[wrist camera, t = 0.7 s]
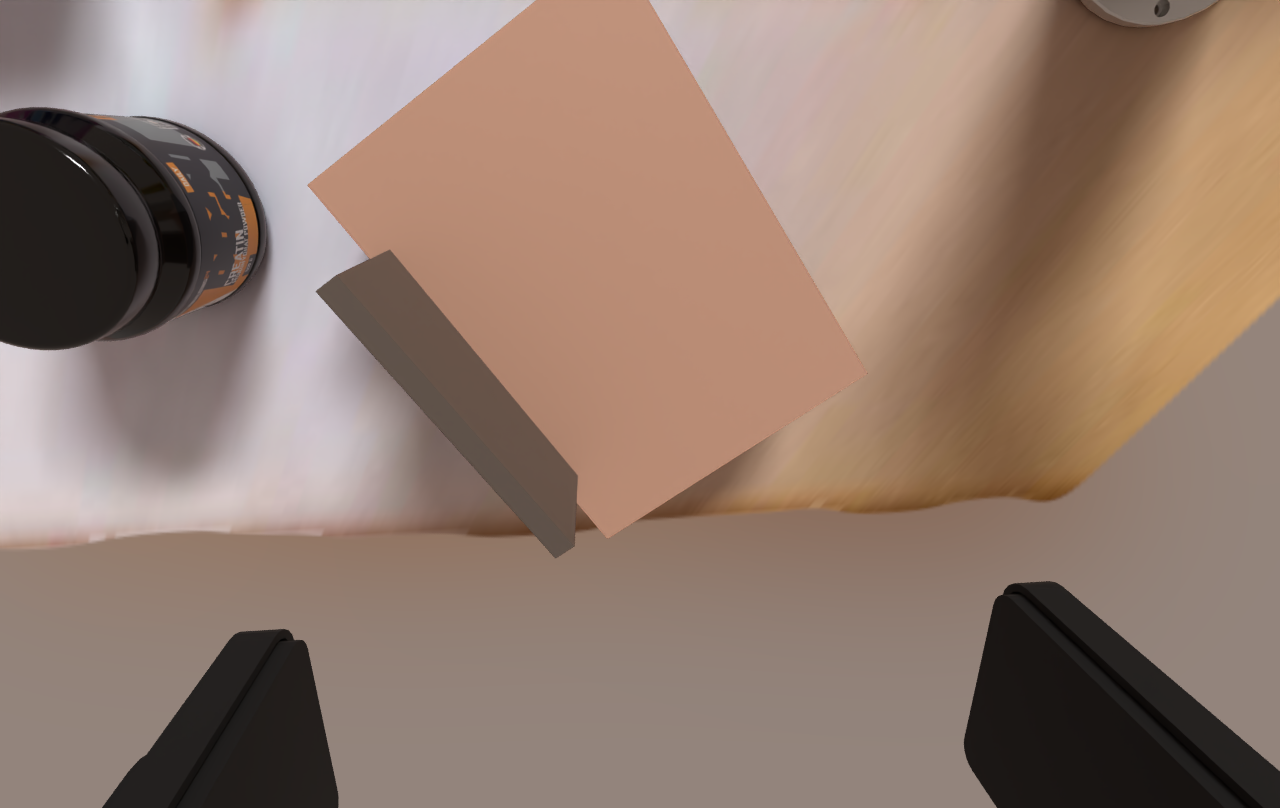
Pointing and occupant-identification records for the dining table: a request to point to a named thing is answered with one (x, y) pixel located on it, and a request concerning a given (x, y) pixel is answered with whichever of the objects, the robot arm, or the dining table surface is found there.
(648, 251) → the lid
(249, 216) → the supplement container
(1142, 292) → the dining table surface
